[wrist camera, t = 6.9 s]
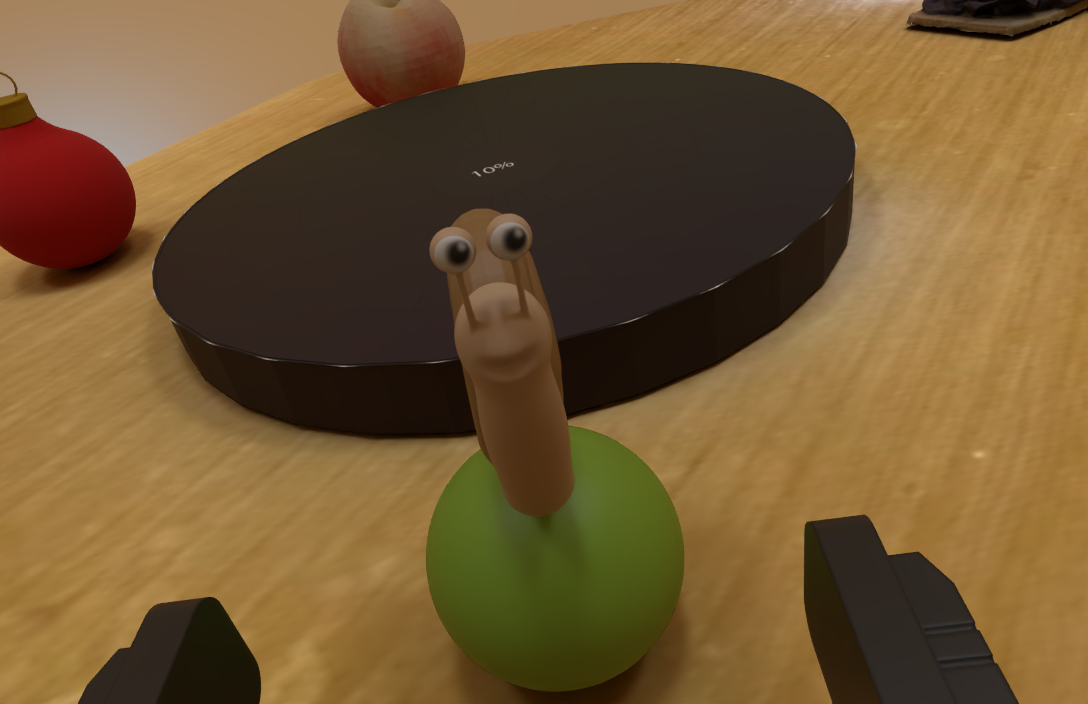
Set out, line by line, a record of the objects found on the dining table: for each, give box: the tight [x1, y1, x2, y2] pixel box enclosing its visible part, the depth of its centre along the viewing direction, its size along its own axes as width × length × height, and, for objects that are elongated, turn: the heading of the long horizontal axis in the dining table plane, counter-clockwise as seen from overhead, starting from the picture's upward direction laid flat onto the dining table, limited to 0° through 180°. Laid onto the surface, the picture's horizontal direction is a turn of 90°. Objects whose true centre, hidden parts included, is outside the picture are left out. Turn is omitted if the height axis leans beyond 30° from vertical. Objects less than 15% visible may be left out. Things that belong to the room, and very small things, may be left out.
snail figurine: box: [426, 209, 684, 692], centre depth 15 cm, size 5×6×12 cm
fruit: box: [337, 0, 465, 108], centre depth 54 cm, size 8×8×8 cm
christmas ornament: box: [0, 72, 136, 269], centre depth 40 cm, size 7×7×10 cm
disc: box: [152, 63, 856, 434], centre depth 37 cm, size 30×30×3 cm
